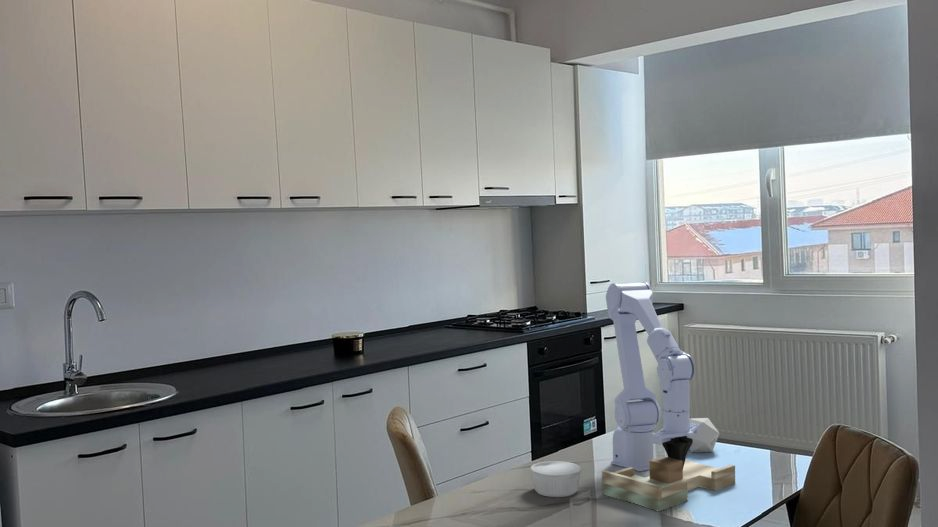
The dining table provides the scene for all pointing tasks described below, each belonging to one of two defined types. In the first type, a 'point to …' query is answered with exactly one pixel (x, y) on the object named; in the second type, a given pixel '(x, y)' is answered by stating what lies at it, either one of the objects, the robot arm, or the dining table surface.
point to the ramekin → (555, 478)
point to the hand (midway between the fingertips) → (677, 470)
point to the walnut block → (666, 469)
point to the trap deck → (664, 485)
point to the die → (703, 435)
